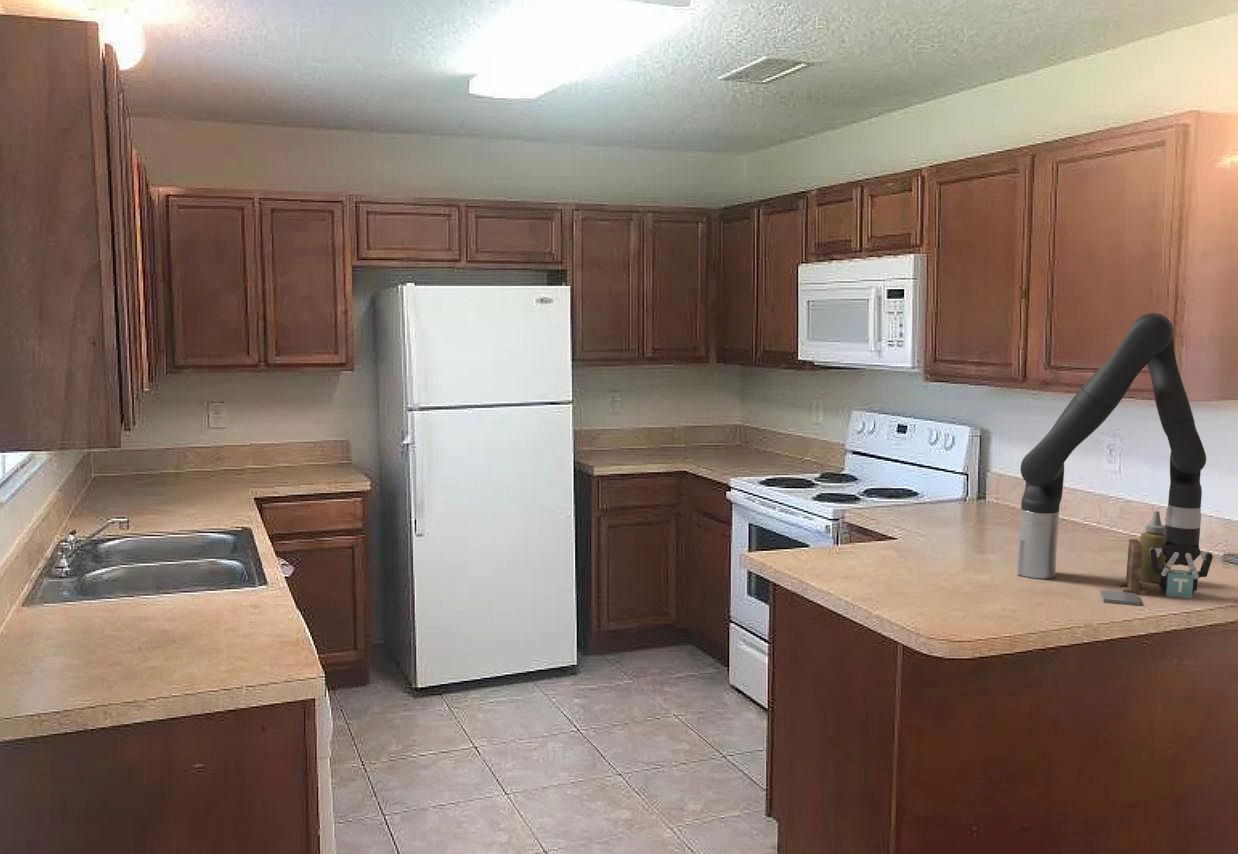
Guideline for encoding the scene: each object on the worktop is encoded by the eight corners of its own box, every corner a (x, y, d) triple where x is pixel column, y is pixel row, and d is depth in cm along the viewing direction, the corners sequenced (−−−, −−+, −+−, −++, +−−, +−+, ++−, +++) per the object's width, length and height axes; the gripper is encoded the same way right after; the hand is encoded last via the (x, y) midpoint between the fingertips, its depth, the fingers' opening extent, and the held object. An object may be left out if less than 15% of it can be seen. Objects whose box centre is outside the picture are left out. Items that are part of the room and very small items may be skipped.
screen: (1123, 593, 255) (1126, 545, 254) (1119, 584, 263) (1122, 538, 261) (1145, 595, 254) (1149, 547, 252) (1141, 586, 261) (1144, 540, 260)
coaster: (1103, 602, 248) (1103, 598, 248) (1099, 593, 255) (1100, 590, 255) (1140, 605, 245) (1140, 602, 245) (1135, 596, 253) (1135, 593, 253)
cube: (1166, 596, 253) (1168, 573, 252) (1162, 590, 258) (1164, 567, 258) (1192, 598, 251) (1193, 575, 251) (1187, 592, 257) (1189, 569, 256)
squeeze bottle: (1158, 575, 272) (1163, 508, 269) (1175, 584, 264) (1181, 514, 261) (1127, 575, 271) (1132, 508, 269) (1144, 584, 263) (1149, 514, 261)
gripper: (1152, 524, 252) (1147, 592, 254) (1219, 529, 247) (1213, 598, 249) (1147, 518, 259) (1142, 584, 261) (1212, 523, 254) (1207, 590, 256)
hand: (1177, 591), depth 255 cm, fingers closed on cube, 5 cm apart
